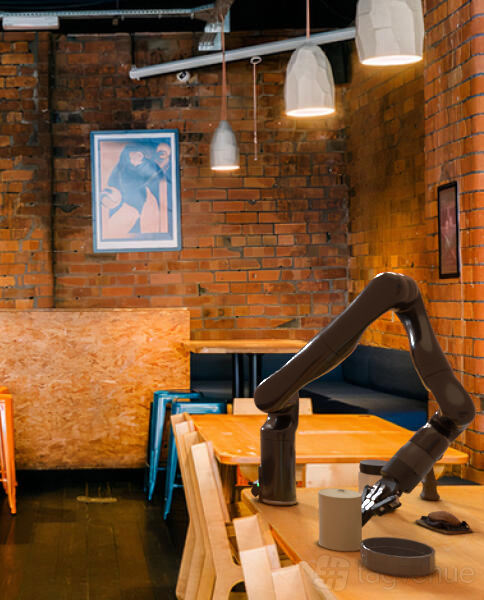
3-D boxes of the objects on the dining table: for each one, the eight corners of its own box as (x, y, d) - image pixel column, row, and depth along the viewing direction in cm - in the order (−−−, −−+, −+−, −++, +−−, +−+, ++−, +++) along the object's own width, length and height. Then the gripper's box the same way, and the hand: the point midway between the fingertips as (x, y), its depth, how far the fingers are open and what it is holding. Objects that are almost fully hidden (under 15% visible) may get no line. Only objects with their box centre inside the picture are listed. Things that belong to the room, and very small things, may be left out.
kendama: (437, 495, 220) (436, 423, 220) (446, 503, 211) (445, 428, 211) (414, 494, 222) (413, 422, 222) (421, 502, 213) (420, 427, 213)
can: (363, 541, 178) (363, 488, 178) (362, 553, 170) (361, 497, 170) (320, 537, 182) (319, 484, 182) (316, 548, 173) (315, 493, 174)
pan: (355, 570, 159) (355, 550, 159) (366, 552, 171) (365, 533, 171) (432, 582, 152) (432, 561, 152) (437, 562, 164) (437, 542, 164)
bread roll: (412, 523, 193) (412, 508, 193) (441, 520, 195) (441, 505, 195) (445, 535, 183) (445, 519, 183) (475, 532, 185) (475, 516, 185)
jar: (366, 503, 213) (365, 458, 213) (398, 507, 207) (397, 461, 208) (354, 509, 206) (354, 463, 206) (388, 514, 201) (387, 467, 201)
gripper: (380, 450, 184) (330, 505, 182) (412, 461, 170) (358, 521, 169) (403, 472, 184) (353, 528, 183) (436, 485, 171) (383, 545, 170)
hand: (356, 524), depth 176 cm, fingers closed
